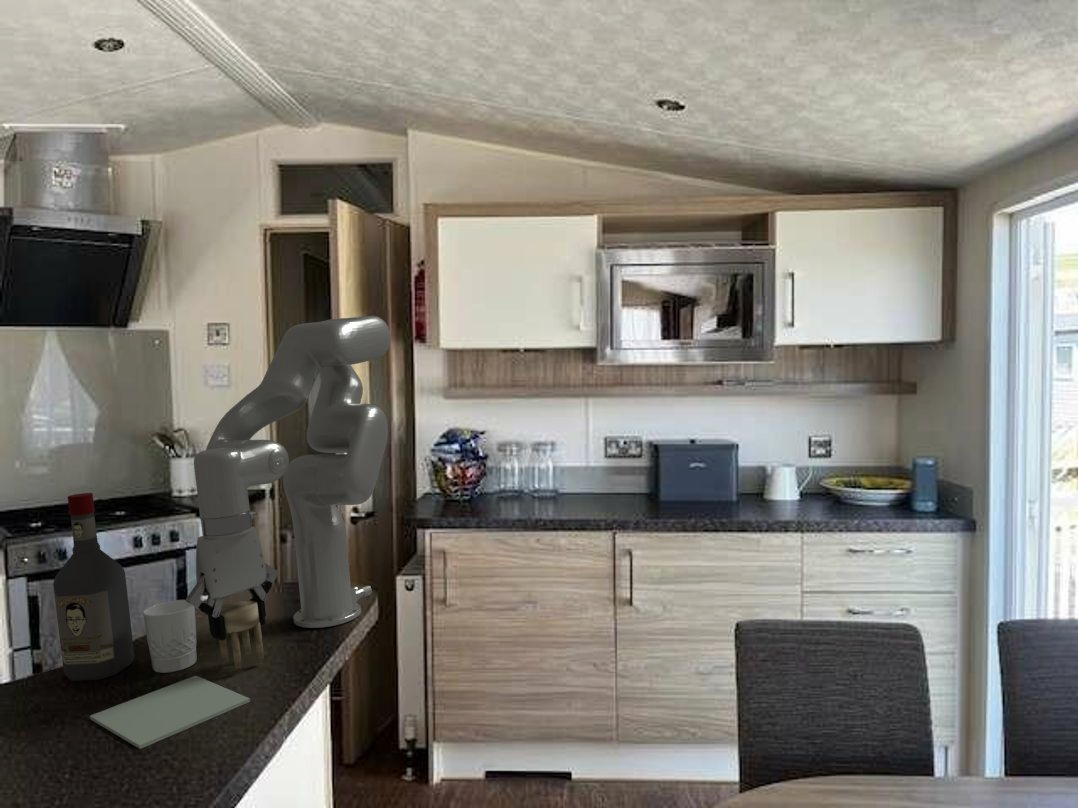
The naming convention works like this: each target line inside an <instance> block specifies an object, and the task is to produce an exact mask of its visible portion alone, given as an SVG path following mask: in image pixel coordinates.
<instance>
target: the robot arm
mask: <svg viewBox="0 0 1078 808" xmlns="http://www.w3.org/2000/svg"><path fill="white" fill-rule="evenodd" d="M391 336H392V335H391V331H390V328H389V326H388V324H387V323H386V321H384V319H383V318H381V317H379V316H375V315H367V316H354V317H341V318H332V319H327V320H322V321H318V322H317V321H315V322H306V323H299V324H296V325H293V326H292V327H290V328H289V329H287V330H286V332H285V333H284V335H283V337H282V339H281V341H280V343H279V345H278V347H277V349H276V351H275V352H274V355H273V358H272V360H271V362H270V363H269V366H268V367H267V370H266V372H265V375H264V376H263V379H262V381H261V382H260V383H259V385H258V386H257V387H256V388H254V389H253V390H251V391H250V392H249V393H247V394H245V396H244V397H242V399H240V400H239V401H238V402H237V403H236V404H234V405H233V406H232V407H231V408H230V409H229V410H228V411H227V412H226V413H225V414H224V415H223V417H222V418H221V419H220V421H218V424H217V425H216V426H215V429H214V430H213V432H212V435H211V437H210V439H209V441H208V443H207V446H206V449H205V450H202V451H200V452H197V454H196V455H195V456H194V458H193V467H194V477H195V485H196V492H197V501H198V509H199V517H200V524H201V526H200V527H201V533H202V535H201V536H199V537H197V539H196V549H195V577H196V580H195V581H196V584H195V585H194V586H193V588H192V590H190V592H189V594H188V595H187V596H186V599H185V600H186V602H187V603H189V604H190V605H192V606H194V607H195V609H196V610H199V612H202V613H204V614H205V615H206V616H207V617H208V618H207V619H208V627H209V633H210V635H211V636H212V637H213V638H214V639H216V640H218V641H219V640H221V641H222V640H225V638H226V639H227V633H226V631H225V623H224V617H223V616H222V615H220V611H221V607H222V606H223V603H224V600H225V598H228V597H231V596H235V595H236V594H240V593H243V592H246V591H248V592H249V594H250V596H251V598H250V599H249V601H255V602H257V605H258V614H259V622H260V626H264V625H266V616H267V613H266V604H265V601H267V599H268V593H269V592H270V590H271V588H272V587H273V583H274V582H275V580H276V579H277V577H278V575H279V571H278V570H277V569H275V568H274V567H272V566H271V565H269V564H268V563H266V562H265V556H264V552H263V547H262V544H261V539H260V537H259V535H258V531H257V529H256V527H255V526H254V525H253V520H254V519H256V518H258V513H257V510H256V509H252V510H251V508H250V500H249V492H248V491H249V490H248V488H249V487H252V486H253V487H254V486H261V485H267V484H268V485H269V484H272V483H275V482H276V481H278V480H280V479H281V478H282V477H283V478H282V483H283V484H282V485H283V488H284V492H285V496H286V497H285V498H286V500H287V502H288V507H289V509H290V515H291V519H292V527H293V535H294V536H293V537H294V548H295V556H296V557H295V558H296V568H297V569H296V570H297V579H298V589H299V599H300V608H301V609H298V610H297V612H295V613H294V615H292V616H293V617H292V618H293V623H294V625H296V626H298V627H300V628H306V629H307V628H308V629H319V628H320V629H321V628H329V627H334V626H339V625H342V624H345V623H347V622H348V623H349V622H351V621H353V620H355V619H356V618H357V617H359V616H360V615H361V613H362V607H361V604H359V603H358V601H360V599H361V598H364V597H368V596H370V595H371V594H372V593H373V591H372V588H371V586H370V585H369V584H368V585H365V586H362V587H359V588H358V587H357V586H353V587H351V578H350V566H349V565H350V564H349V556H348V555H349V554H348V542H347V530H346V524H345V520H344V518H343V515H342V514H341V511H340V510H339V508H338V507H337V506H354V505H355V506H357V505H362V504H364V503H365V502H367V501H369V499H370V498H371V496H372V495H373V493H374V490H375V488H376V485H377V481H378V477H379V474H380V468H381V466H382V463H383V458H384V455H385V454H384V453H385V450H386V446H387V441H388V435H389V426H388V420H387V417H386V414H385V413H384V411H383V410H382V409H381V408H380V407H379V406H377V405H375V404H371V403H362V398H363V394H364V388H363V382H362V381H361V378H360V377H359V376H358V375H359V374H357V372H356V371H355V369H354V368H353V366H352V365H356V364H357V365H358V364H361V363H365V362H368V361H369V362H370V361H374V360H377V359H380V358H382V357H383V356H384V355H386V353H387V352H388V350H389V348H390V345H391V340H392V339H391V338H392V337H391ZM318 375H319V377H320V378H319V379H320V382H319V383H320V384H319V385H320V386H319V390H318V392H317V396H316V399H315V403H314V406H313V409H312V412H311V416H310V417H309V418H310V419H309V422H308V425H307V429H306V441H307V443H308V445H309V447H310V448H311V449H313V450H314V451H316V452H320V454H317V453H316V454H305V455H301V456H299V457H295V458H294V459H293V460H291V461H290V460H289V459H290V458H289V454H288V452H287V449H286V448H285V447H284V446H283V445H282V444H281V443H279V442H277V441H275V440H272V439H271V440H270V439H252V438H253V437H254V436H255V435H256V434H257V433H258V432H260V431H261V430H262V429H264V428H265V427H267V426H268V425H271V424H272V423H275V422H277V421H279V420H282V419H283V418H286V417H288V416H290V415H292V414H294V413H296V412H298V411H300V410H301V409H302V408H303V407H304V406H305V405H306V403H307V401H308V398H309V396H310V394H311V391H312V389H313V387H314V385H315V383H316V380H317V378H318ZM322 453H323V454H322ZM324 453H325V454H324ZM289 461H290V462H289ZM252 525H253V526H252ZM201 596H203V597H207V599H206V601H205V602H204V601H203V600H202V599H201Z"/></svg>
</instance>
